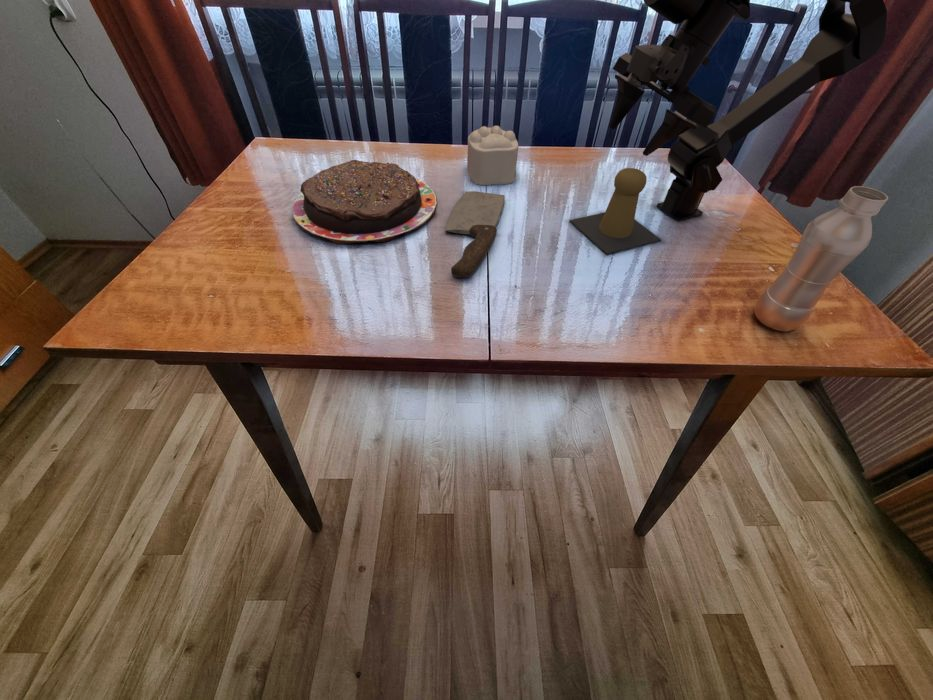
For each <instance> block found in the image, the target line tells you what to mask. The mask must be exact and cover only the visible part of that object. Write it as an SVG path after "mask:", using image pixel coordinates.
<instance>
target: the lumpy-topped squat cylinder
mask: <svg viewBox="0 0 933 700" xmlns="http://www.w3.org/2000/svg"><path fill="white" fill-rule="evenodd" d="M518 155H519V141H518V140H517V137H516V134H515V132H514V131H512V130H507V131H506V130H503V129H502V128H501V127H500V126H499V125H493V126H491V127H488V126H486V125H483V126H481V127H480V128H478V129H476V130H473V131H472V132H471V133H470V134H469V135H468V137H467V161H466V162H467V163H466V164H467V166H466V167H467V169H466V170H467V175H468V177H469V179H470V180H471V181H472V182H473V183H474V184H476V185H479V186H491V185H509V184H512V183H514V182H515V180H516V173H517V164H518Z"/></svg>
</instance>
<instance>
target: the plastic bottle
mask: <svg viewBox="0 0 933 700" xmlns="http://www.w3.org/2000/svg"><path fill="white" fill-rule="evenodd" d="M888 200H889V196H888V194H886V193H884V192H882V191H881V190H878V189H875V188H872V187H868V186H862V185H861V186H860V185H858V186H857V185H854V186H852V187H850V188H849V189H848V191H846V193H845V195H844V196H843V197H841V198H840V200H839V201H838V207H836V208H833V209H830V210H828V211H826V212H823V213H822V214H820V215H818V216H816V217H814V219H812V220H811V221H810V222H809V223H807V226H806V227H805V229H804V231H803V233H802V235H801V237H800V239H799V242H798V244H797V246H796V248H795V250H794V252H793V253H792V255H791V257H790V258H789V259H788V262H787V263H786V265H785V267H784V268H783V270H782V271H781V272H780V274H779V275H778V276H777V277H776V279H775V280H774V281H773V282H772V283H771V285H770V286H768V287H767V288H766V289H765V290H764V291H763V292H762V293H761V294H760V296H759V297H758V298H757V300H756V303H755V305H754V308H753V309H754V316H755V317H756V319H757V320H758V321H759V323H761V324H762V325H764V326H765V327H768V328H770V329H772V330H775V331H779V332H790V331H793V330H797V329H800V328H801V327H802V326H803V325H804V324H806V323H807V322H808V321H809V320H810V318H811V316H812V314H813V312H814V310H815V308H816V305H817V304H818V302H819V300H820V299H821V298H822V296H823V294H824V293H825V291H826V290H827V289H828V287H829V286H830V284H831V283H833V281H834V280H835V279H836V278H837V277H838V276H839V274H840V273H841V272H842V271H843V270H844V269H845V268H846V267H848V266H849V264H851V263H852V262H853V261H854V260H855V259H856V258H857V257H858V256H859V255H860V254H861V253H863V252H864V250H865V249H866V248H867V247H868V246H869V245H870V242H871V240H872V236H873V222H872V217H875V216H877V215H878V214H879V212H881V209H882V207H883V206H884V205H885V204H886V203H887V202H888Z"/></svg>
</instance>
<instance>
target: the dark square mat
mask: <svg viewBox="0 0 933 700" xmlns="http://www.w3.org/2000/svg"><path fill="white" fill-rule="evenodd" d="M604 214H605V212H600V213H596V214H592V215H586V216H582V217H578V218H573V219H570V220H569V223H570V224H571V225H572V226H573V227H575V229H576V230H578V231H579V232H580V233H581V234H582V235H583V236H584V237H585V238H587V239H588V240H589V241H590V242H591V243H592V244H593V245H594V246H596V247H597V248H598V249H599V250H600V251H601V252H602V253H603V254H604V255H605V256H608V255H613V254H617V253H622V252H625V251H628V250H633V249H637V248H640V247H645V246H647V245H648V246H649V245H652V244H656V243H659V242H661V241H662V239H661V238H660V237H659V236H658V235H656V234H655V233H653V232H652V231H651V230H650V229H648V228H647V227H646V226H644V225H643V224H641V222H639V221H638V220H637V219H635V218H634V224H633V229H632V233H631V235H630V236H628V237H626V238H612V237H609V236H607V235H605V234H603V233H602V232H601V231H600V230H599V225H600V223H601V220H602V218H603V216H604Z"/></svg>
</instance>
